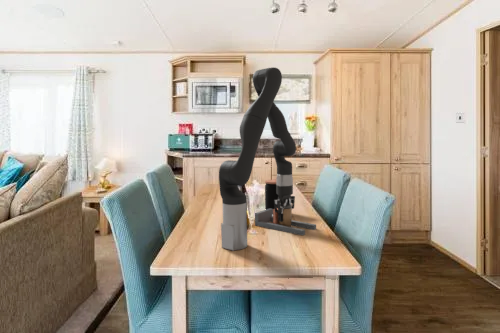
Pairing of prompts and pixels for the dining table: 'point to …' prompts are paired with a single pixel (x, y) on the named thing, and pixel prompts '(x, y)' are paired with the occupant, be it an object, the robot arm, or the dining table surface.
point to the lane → (266, 216)
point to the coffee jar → (270, 194)
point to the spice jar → (286, 216)
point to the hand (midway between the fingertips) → (284, 219)
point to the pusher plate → (275, 217)
